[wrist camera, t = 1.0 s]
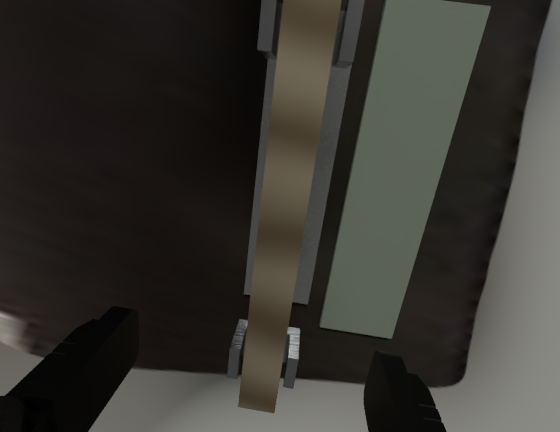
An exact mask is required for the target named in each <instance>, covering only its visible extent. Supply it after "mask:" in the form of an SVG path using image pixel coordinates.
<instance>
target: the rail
mask: <svg viewBox="0 0 560 432" xmlns="http://www.w3.org/2000/svg"><path fill="white" fill-rule="evenodd" d="M341 1H342V0H283V7H282V16H281V25H280V34H279V43H278V52H277V61H276V70H275V79H274V88H273V97H272V106H271V115H270V125H269V134H268V143H267V152H266V161H265V170H264V179H263V188H262V197H261V206H260V215H259V224H258V233H257V242H256V251H255V260H254V269H253V278H252V287H251V296H250V305H249V314H248V323H247V332H246V341H245V350H244V359H243V368H242V377H241V386H240V395H239V404H238V407H242V408H248V409H253V410H259V411H265V412H271V413H274V411H275V405H276V398H277V393H278V386H279V380H280V374H281V368H282V362H283V356H284V350H285V344H286V337H287V331H288V325H289V319H290V313H291V307H292V301H293V295H294V288H295V282H296V276H297V270H298V264H299V258H300V252H301V246H302V239H303V233H304V227H305V221H306V215H307V209H308V203H309V197H310V190H311V184H312V178H313V172H314V166H315V160H316V154H317V148H318V141H319V135H320V129H321V123H322V117H323V111H324V105H325V99H326V92H327V86H328V80H329V74H330V68H331V62H332V56H333V50H334V43H335V37H336V31H337V25H338V19H339V13H340V7H341Z"/></svg>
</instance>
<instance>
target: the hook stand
mask: <svg viewBox="0 0 560 432" xmlns="http://www.w3.org/2000/svg"><path fill="white" fill-rule="evenodd" d="M363 6H364V0H348V3H347V6H346V8H345V11H340V13H339V19H338V25H337V31H336V37H335V43H334V50H333V56H332V62H331V68H330V74H329V80H328V86H327V92H326V99H325V105H324V111H323V117H322V123H321V129H320V135H319V141H318V148H317V154H316V160H315V166H314V172H313V178H312V184H311V190H310V197H309V203H308V209H307V215H306V221H305V227H304V233H303V239H302V246H301V252H300V258H299V264H298V270H297V276H296V282H295V288H294V295H293V301H292V302H296V303H302V304H308V300H309V295H310V290H311V284H312V279H313V273H314V268H315V262H316V257H317V251H318V246H319V240H320V235H321V229H322V224H323V218H324V213H325V208H326V202H327V197H328V191H329V186H330V180H331V175H332V169H333V164H334V158H335V153H336V147H337V142H338V136H339V131H340V126H341V120H342V115H343V109H344V104H345V98H346V93H347V87H348V82H349V76H350V71H351V65H352V63H353V60H354V55H355V49H356V44H357V39H358V33H359V28H360V22H361V17H362V11H363ZM282 7H283V4H282V2H281V0H262V3H261V14H260V25H259V35H258V46H257V50H258V51H259V52H260V53H261V54H262V55H263V56H264V57H265V58H266V59H268V64H267V74H266V84H265V93H264V103H263V113H262V123H261V132H260V142H259V152H258V162H257V171H256V181H255V191H254V201H253V210H252V220H251V230H250V240H249V249H248V259H247V269H246V279H245V288H244V294H246V295H251V287H252V278H253V269H254V260H255V251H256V242H257V233H258V224H259V215H260V206H261V197H262V188H263V179H264V170H265V161H266V152H267V143H268V134H269V125H270V115H271V106H272V97H273V88H274V79H275V70H276V61H277V52H278V43H279V34H280V25H281V16H282ZM247 323H248V320H243V319H239V322H238V325H237V328H236V331H235V334H234V337H233V340H232V343H231V346H230V353H229V363H228V374H227V377H229V378H235V379H237V377H238V373H239V369H240V366H241V362H242V358H243V355H244V350H245V341H246V332H247ZM299 338H300V329H298V328H292V327H288V331H287V337H286V344H285V350H284V356H283V362H285V363H286V364H285V374H284V385H283V387H287V388H293V386H294V381H295V376H296V370H297V365H298V359H299Z"/></svg>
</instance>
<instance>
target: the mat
mask: <svg viewBox="0 0 560 432" xmlns="http://www.w3.org/2000/svg"><path fill="white" fill-rule="evenodd" d="M490 8H491V6H484V5H476V4H467V3H459V2H450V1H441V0H385V1H384V6H383V11H382V16H381V21H380V26H379V31H378V36H377V41H376V45H375V50H374V55H373V60H372V65H371V70H370V75H369V80H368V85H367V90H366V95H365V100H364V105H363V110H362V115H361V120H360V125H359V130H358V135H357V140H356V144H355V149H354V154H353V159H352V164H351V169H350V174H349V179H348V184H347V189H346V194H345V199H344V204H343V209H342V214H341V219H340V224H339V229H338V234H337V239H336V243H335V248H334V253H333V258H332V263H331V268H330V273H329V278H328V283H327V288H326V293H325V298H324V303H323V308H322V313H321V318H320V327H323V328H329V329H335V330H341V331H347V332H353V333H359V334H365V335H371V336H378V337H384V338H390V339H392V335H393V332H394V329H395V325H396V322H397V319H398V315H399V312H400V309H401V305H402V302H403V299H404V295H405V292H406V289H407V285H408V282H409V279H410V275H411V272H412V269H413V265H414V262H415V259H416V255H417V252H418V249H419V245H420V242H421V239H422V235H423V232H424V228H425V225H426V222H427V218H428V215H429V212H430V208H431V205H432V202H433V198H434V195H435V192H436V188H437V185H438V182H439V178H440V175H441V172H442V168H443V165H444V162H445V158H446V155H447V152H448V148H449V145H450V142H451V138H452V135H453V132H454V128H455V125H456V122H457V118H458V115H459V112H460V108H461V105H462V102H463V98H464V95H465V91H466V88H467V85H468V81H469V78H470V75H471V71H472V68H473V65H474V61H475V58H476V55H477V51H478V48H479V45H480V41H481V38H482V35H483V31H484V28H485V25H486V21H487V18H488V15H489V11H490Z"/></svg>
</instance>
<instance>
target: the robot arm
mask: <svg viewBox="0 0 560 432" xmlns="http://www.w3.org/2000/svg"><path fill="white" fill-rule="evenodd" d="M138 351H139V317H138V312H137V310H134V309H128V308H122V307H116V306H114V307H111V308H110V309H109V310H108V311H107V312H106V313H105V314H104V315H103V316H102V317H101V318H100V319H99V320H95V319H92V320H90V321H89V322H87V323H85V324H83V325H81V326H79V327H78V328H76V329H75V330H74V331H73V332H72V333H71V334H70V335H69V336H67V337H66V338H65V339H64V340H63V343H60V344H59V345H58V346H57V347H56V348H55V349H54V350H53V352H52V353H50V354H49V355H47V356H46V357H45V358H44V359H43V360H42V361H41V362H40V363H39V364H38V365H37V366H36V367H35V368H34V369H33V370H32V371H31V372H30V373H29V374H27V375H26V377H24V378H23V379H22V380H21V381H20V382H19V383H18V384H17V385H16V386H15V387H14V388H13V389H12V390H11V391H10V392H9V393H8V394H6V395H5V396H0V432H88V431H89V429H90V428H91V426H92V425H93V424H94V422H95V420H96V419H97V418H98V416H99V414H100V413H101V412H102V410H103V409H104V407H105V406H106V404H107V403H108V401H109V400H110V399H111V397H112V396H113V394H114V393H115V391H116V390H117V388H118V387H119V385H120V384H121V383H122V381H123V380H124V378H125V377H126V375H127V374H128V372H129V371H130V369H131V368H132V366H133V365H134V363H135V361H136V358H137V355H138ZM364 409H365V414H366V420H367V425H368V431H369V432H446V429H445V427H444V424H443V423H442V422H441V417H440V415H439V412H438V410H437V409H436V406H435V403H434V401H433V398H432V396H431V393H430V391H429V389H428V388H427V387H426V385H425V384H424V383H423V382H422V380H421V379H420V378H419V377H418V376H417V375H416V374H410V373H407V370H406V367H405V365H404V362H403V359H402V357H401V355H399V354H394V353H388V352H382V351H375V353H374V355H373V359H372V362H371V366H370V369H369V373H368V376H367V380H366V384H365V389H364Z"/></svg>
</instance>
